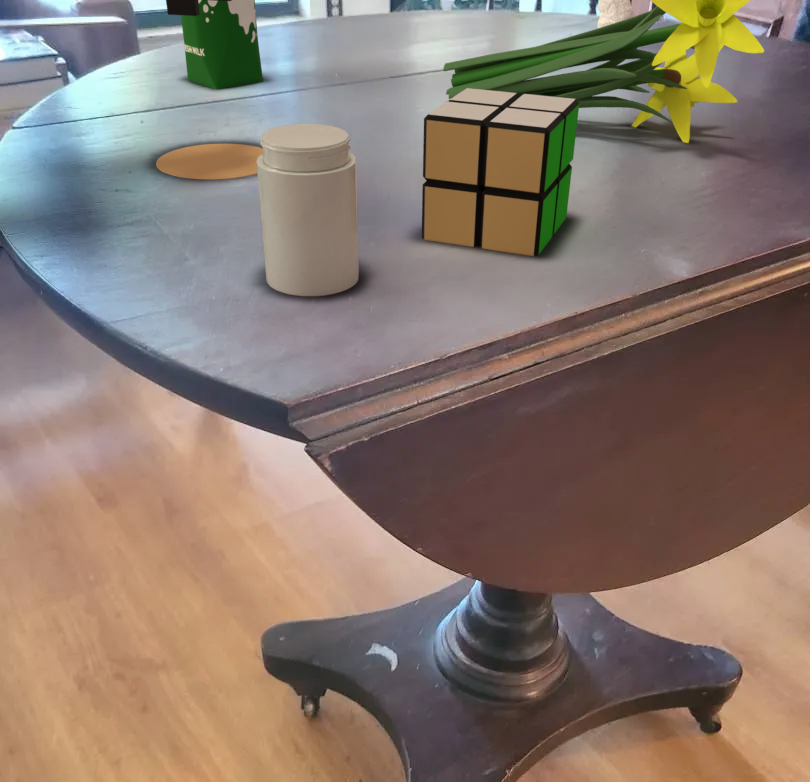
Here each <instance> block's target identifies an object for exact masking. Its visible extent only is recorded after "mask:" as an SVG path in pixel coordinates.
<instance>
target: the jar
mask: <svg viewBox="0 0 810 782" xmlns="http://www.w3.org/2000/svg"><path fill="white" fill-rule="evenodd" d="M259 144H260V146H261V148H262V149H263V154H261V155H260V156H259V157H258V158H257V160H256V164H257V174H256V175H257V186H258V197H259V199H258V200H259V209H260V220H261V221H260V222H261V233H262V247H263V256H264V269H265V280H266V283H267V284H268V286H269V287H271V288H272V289H273V290H275V291H277V292H280V293H284V294H286V295H290V296H291V295H292V296H299V297H323V296H330V295H334V294H338V293H342V292H344V291H346V290H350V289H351V288H352V287H353V286H355V285H356V284H357V283H358V281H359V279H360V268H359V267H360V266H359V263H360V262H359V261H360V260H359V221H358V214H359V213H358V177H357V175H358V173H357V171H358V169H357V157H356V155H354V154H353V152H350V149H351V138H350V136H349V133H348V131H346V130H344V129H343V128H340V127H337V126H334V125H327V124H319V123H295V124H294V123H293V124H285V125H280V126H275V127H272V128H270V129H268V130H266V131H264V132H263V133H262V135H261V138H260V141H259Z"/></svg>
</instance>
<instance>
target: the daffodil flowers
mask: <svg viewBox="0 0 810 782" xmlns="http://www.w3.org/2000/svg"><path fill="white" fill-rule="evenodd" d="M650 1H651V2H652V3H653V4H654V5H655V7H654V8H653V9H651V10H649V11H646V12H643V13H640V14H638V15H635V16H633V17H632V18H629V19H626V20H623V21H620V22H617V23H613V24H610V25H607V26H604V27H601V28H598V27H597V28H594V29H591V30H587V31H585V32H581V33H578V34H575V35H571V36H567V37H564V38H560V39H557V40H554V41H551V42H547V43H544V44H541V45H535V46H532V47H531V46H530V47H527V48H526V47H525V48H520V49H519V48H518V49H515V50H507V51H502V52H496V53H490V54H485V55H480V56H475V57H470V58H465V59H460V60H455V61H450V62H445V64H444V66H443V68H442V69H443V72H448V71H453V70H454V73H453V74H452V76H451V79H450V83H451V86H452V87H449V88H448V89H446V92H445V95H446V96H447V95H448V100H450V99H451V98H453V97H454V96H456V95H457V94H459V93H460V92H462V91H463V90H465V89H466V88H472V89H481V90H491V91H501V92H511V93H517V94H518V95H519V97H521V96H522V95H523V94H532V95H541V96H551V97H561V98H571V99H576V100H577V101H578V102H579V109H587V108H588V109H589V108H624V109H625V108H628V109H635V110H639V113H638V114H637V116H636V117H635V119H634V120H633V122H632V124H630V125H631V127H633V128H637V127H638V126H639V125H640V124H643V123H644V122H646V121H647V120H648V119H650V118H651V117H653V116H656V117H659V118H661V119H663V120H665V121H667V122H668V123H669V122H670V123H672V124H673V127H674V128H675V131H676V133H677V135H678V136H679V138H680V140H681V142H682V143H687V144H689V143H690V139H691V138H690V137H691V121H692V120H691V119H692V109H691V108H695V104H697V103H698V102H699V103H700V102H701V103H712V104H735V103H738V99H737V98H736V97H735V96H734V95H733V94H732V93H731V92H730V91H729V90H728V89H726V88H725V87H723V86H721V85H720V84H718V83H715V82H712V78H713V75H714V72H715V69H716V65H717V62H718V58H719V57H718V56H719V54H720V51H721V50H722V49H723V48H724V46H726V47H728V48H730V49H732V50H734V51H737V52H742V53H745V54H763V53H765V49H764V47H763V46H762V44H761V43H760V41H759V40H758V39H757V37H756V36H755V35H754V34H753V33H752V32H751V30H750V29H749V28H748V27H747V26H746V25H745V24H744V23H743V22H742V21H741V20H740V19H739V18H738V17H737V16H736V15H734V14H736V13H737V12H738V11H739V10H740V9H742V7H744V6H745V5H747V4H748V3H749V2H750V1H751V0H650ZM665 14H668V15H669V16H671V17H673V18H674V19H675V20H677V21H679V22H680V23H676V24H672V25H667V26H663V27H657V28H652V27H653V26H654V24H656V23H657V22H658V20H660V18H661V17H662V16H664V15H665ZM651 28H652V29H651ZM661 43H663V44H662V45H661V47H660V49H659V50H658V52H651V51H647V50H643V49H638V48H642V47H645V46H650V45H654V44H661ZM689 49H691V50H694V53H693V54H692V55H690V56H689V57H688V56H687V51H688V50H689ZM626 60H632V61H629V62H625V63H623V62H624V61H626ZM601 62H602V63H601ZM603 62H604V63H603ZM595 63H601V64H598V65H596V66H593V67H591V68H588V69H585V70H578V71H573V72H566V73H560V74H554V75H549V76H544V75H548V74H550V73H554V72H556V71H560V70H563V69H564V70H565V69H568V68H574V67H578V66H584V65H588V64H589V65H590V64H595ZM621 63H623V64H621ZM663 63H664V66H663V67H661V66H660V65H661V64H663ZM540 76H543V77H540ZM698 76H699V77H698ZM640 85H647V86H648V87H649V88H651V89H654V90H655V91H654V93H653V94H652V95H651V96H650V98H648V100H647V101H646V103H645V104H644V103H642V102H638V101H634V100H630V99H626V98H622V97H619V96H613V95H612V96H611V95H603V94H606V93H609V92H612V91H616V90H626V91H632V92H639V93H645V94H649V93H651V91H649V90H647V89H645V88H643V87H641V86H640ZM665 107H666V108H667V111H668V113H669V117H670V118H671V119H669V118H668V117H666V116H665V115H663V114H662V113H661V112H660V111H662V110H663V109H664V108H665Z"/></svg>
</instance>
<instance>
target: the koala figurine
mask: <svg viewBox="0 0 810 782" xmlns="http://www.w3.org/2000/svg"><path fill="white" fill-rule="evenodd" d="M631 4H632V2H631V0H599V1H598V4H597V9H598V11H599V13H600V14H599V18H598V20H597V29H598V28H601V27H604V26H607V25H610V24H613V23H617V22H620V21H623V20H626V19H629V18H632V17H634V10H633V6H632V5H631Z"/></svg>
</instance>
